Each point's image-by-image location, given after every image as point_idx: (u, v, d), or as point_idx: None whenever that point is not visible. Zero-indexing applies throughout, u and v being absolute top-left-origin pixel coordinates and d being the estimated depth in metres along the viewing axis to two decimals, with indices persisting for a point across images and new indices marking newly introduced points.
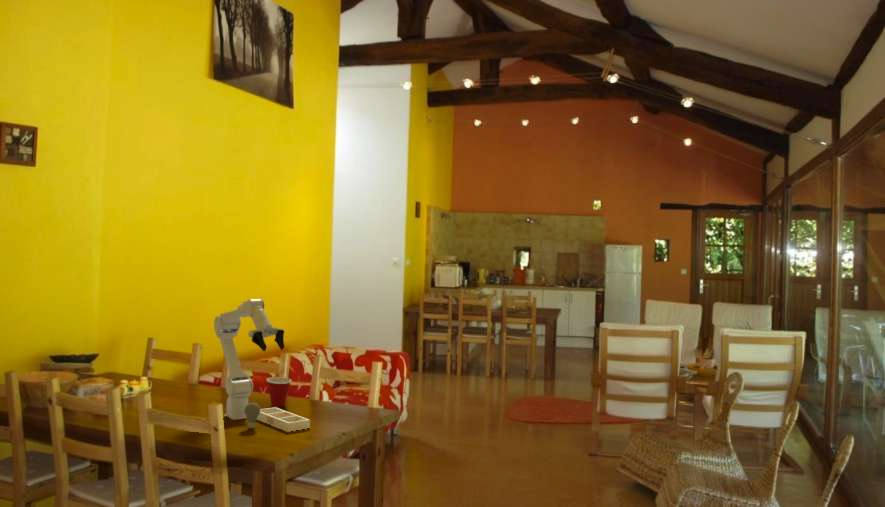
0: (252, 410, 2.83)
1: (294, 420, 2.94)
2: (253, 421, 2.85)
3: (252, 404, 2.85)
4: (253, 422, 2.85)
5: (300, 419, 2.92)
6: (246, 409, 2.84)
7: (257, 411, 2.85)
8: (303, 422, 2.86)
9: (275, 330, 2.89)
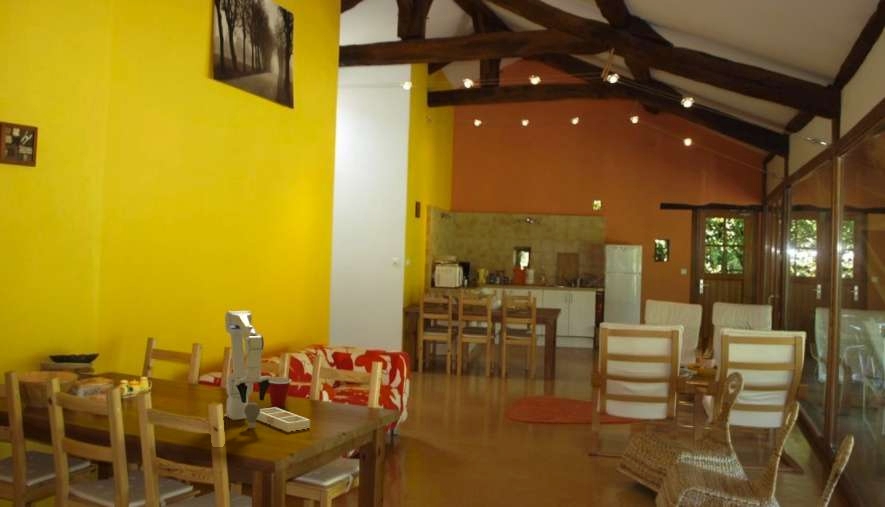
0: (252, 410, 2.83)
1: (294, 420, 2.94)
2: (253, 421, 2.85)
3: (252, 404, 2.85)
4: (253, 422, 2.85)
5: (300, 419, 2.92)
6: (246, 409, 2.84)
7: (257, 411, 2.85)
8: (303, 422, 2.86)
9: None
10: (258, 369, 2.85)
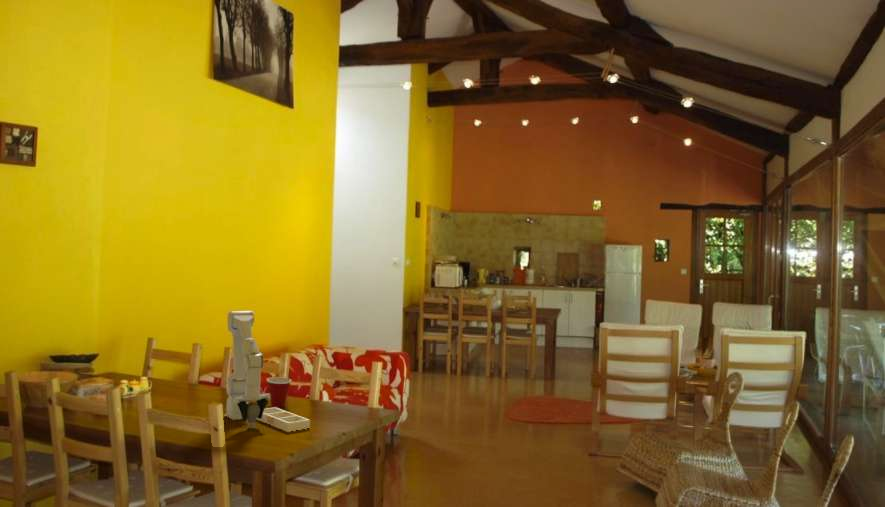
0: (252, 410, 2.83)
1: (294, 420, 2.94)
2: (253, 421, 2.85)
3: (252, 404, 2.85)
4: (253, 422, 2.85)
5: (300, 419, 2.92)
6: None
7: (257, 411, 2.85)
8: (303, 422, 2.86)
9: None
10: (257, 387, 2.85)
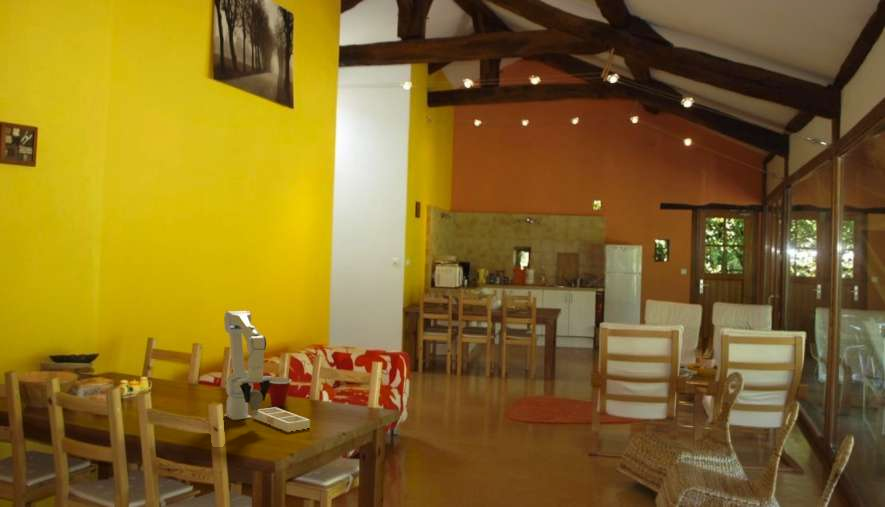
0: (255, 397, 2.84)
1: (294, 420, 2.94)
2: (256, 408, 2.85)
3: (255, 391, 2.86)
4: (256, 409, 2.86)
5: (300, 419, 2.92)
6: None
7: (260, 398, 2.85)
8: (303, 422, 2.86)
9: None
10: (260, 369, 2.85)
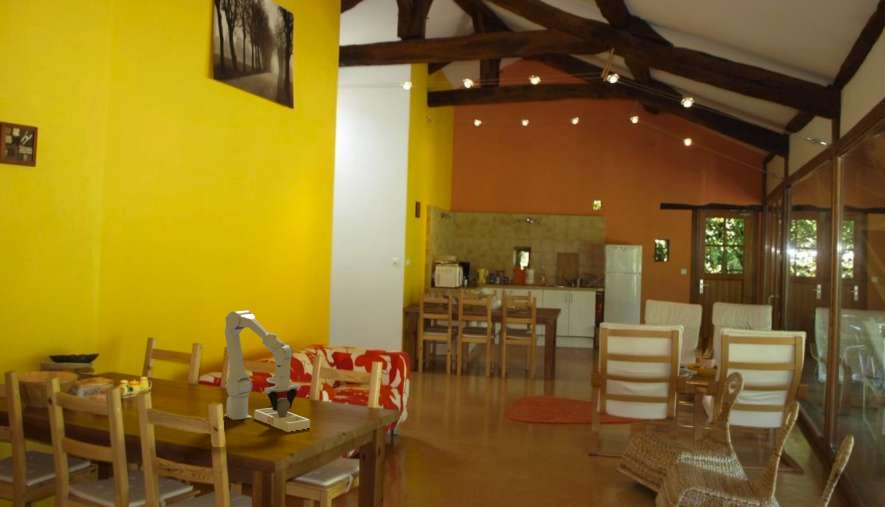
0: (283, 405, 2.92)
1: (294, 420, 2.94)
2: (283, 416, 2.93)
3: (282, 399, 2.93)
4: None
5: (300, 419, 2.92)
6: (277, 404, 2.92)
7: (287, 406, 2.93)
8: (303, 422, 2.86)
9: None
10: (287, 378, 2.93)
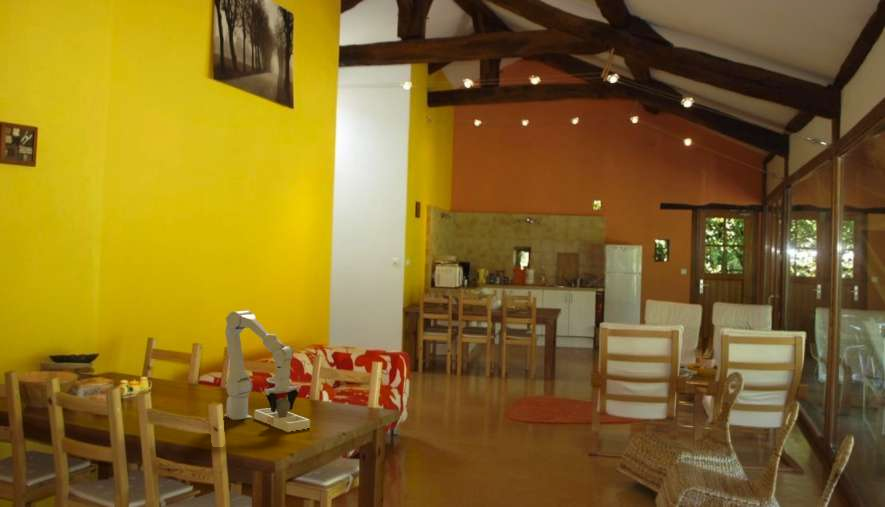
0: (283, 405, 2.92)
1: (294, 420, 2.94)
2: (284, 416, 2.93)
3: (283, 400, 2.93)
4: None
5: (300, 419, 2.92)
6: (277, 404, 2.92)
7: (287, 406, 2.93)
8: (303, 422, 2.86)
9: None
10: (287, 379, 2.93)
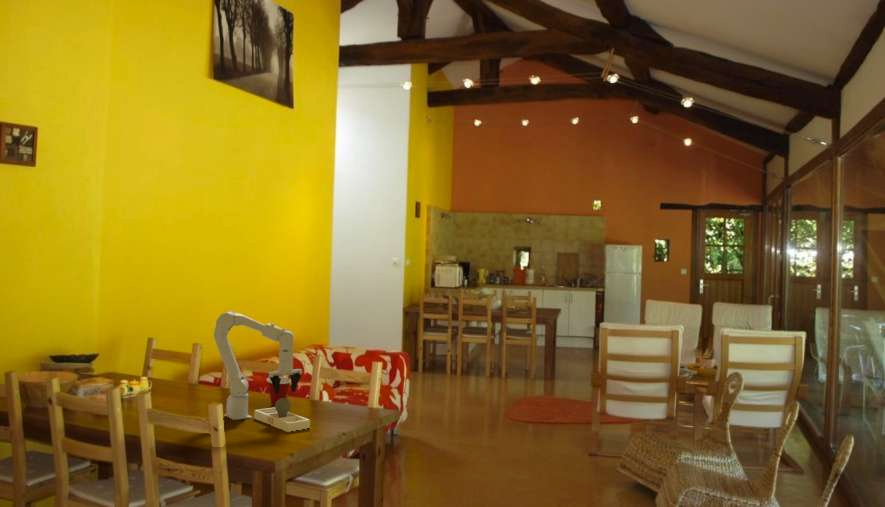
0: (283, 405, 2.92)
1: (294, 420, 2.94)
2: (284, 416, 2.93)
3: (283, 400, 2.93)
4: None
5: (300, 419, 2.92)
6: (277, 404, 2.92)
7: (287, 406, 2.93)
8: (303, 422, 2.86)
9: None
10: (290, 362, 3.03)
